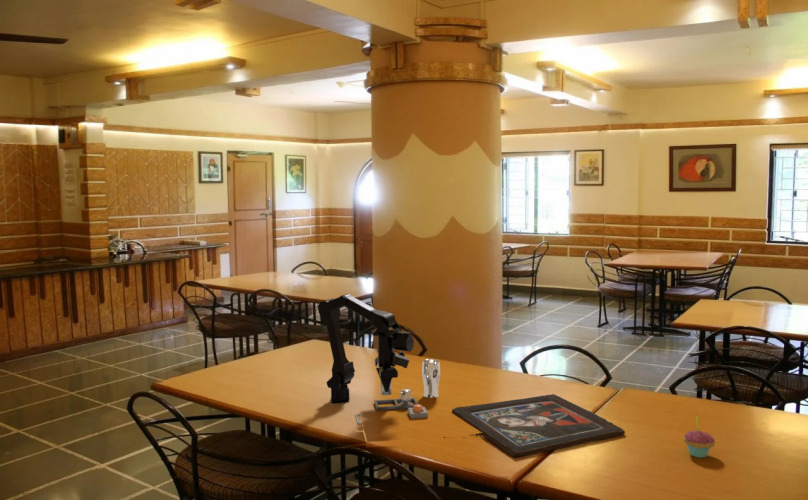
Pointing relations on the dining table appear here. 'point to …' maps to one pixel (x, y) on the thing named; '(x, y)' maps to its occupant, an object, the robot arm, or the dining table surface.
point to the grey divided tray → (394, 403)
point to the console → (418, 413)
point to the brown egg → (417, 408)
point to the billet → (384, 390)
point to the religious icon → (537, 424)
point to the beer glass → (431, 377)
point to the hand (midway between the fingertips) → (386, 390)
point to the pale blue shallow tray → (357, 419)
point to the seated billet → (406, 397)
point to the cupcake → (698, 442)
